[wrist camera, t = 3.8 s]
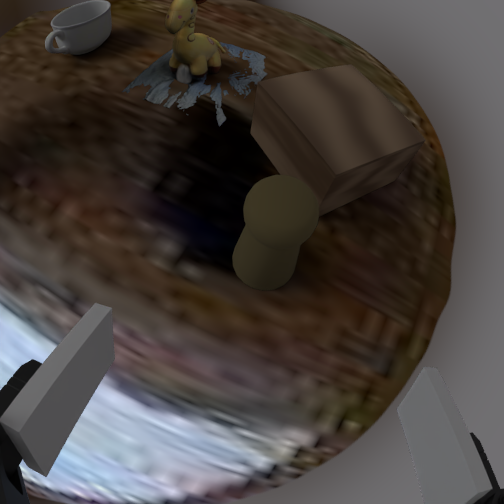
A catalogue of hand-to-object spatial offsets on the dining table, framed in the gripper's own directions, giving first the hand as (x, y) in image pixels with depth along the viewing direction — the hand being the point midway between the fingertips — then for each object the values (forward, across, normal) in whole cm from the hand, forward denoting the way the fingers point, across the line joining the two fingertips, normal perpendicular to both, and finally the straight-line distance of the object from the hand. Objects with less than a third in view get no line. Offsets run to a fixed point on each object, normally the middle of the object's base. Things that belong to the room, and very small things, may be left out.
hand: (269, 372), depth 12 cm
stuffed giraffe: (+38, -14, +15) cm, 43 cm away
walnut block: (+29, +5, +7) cm, 30 cm away
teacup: (+41, -39, +19) cm, 60 cm away
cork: (+19, 0, -3) cm, 19 cm away
